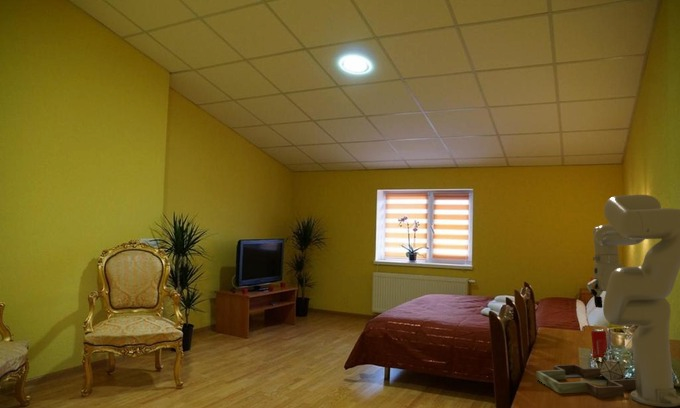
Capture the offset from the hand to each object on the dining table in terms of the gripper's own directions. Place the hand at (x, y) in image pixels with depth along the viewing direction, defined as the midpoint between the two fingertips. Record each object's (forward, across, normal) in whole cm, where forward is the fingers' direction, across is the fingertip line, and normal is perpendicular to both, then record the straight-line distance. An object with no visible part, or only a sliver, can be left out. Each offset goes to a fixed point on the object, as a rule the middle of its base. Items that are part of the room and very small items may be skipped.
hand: (611, 306), depth 169 cm
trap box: (+24, -16, -9) cm, 30 cm away
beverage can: (+23, +6, +18) cm, 30 cm away
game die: (+24, -8, -9) cm, 27 cm away
